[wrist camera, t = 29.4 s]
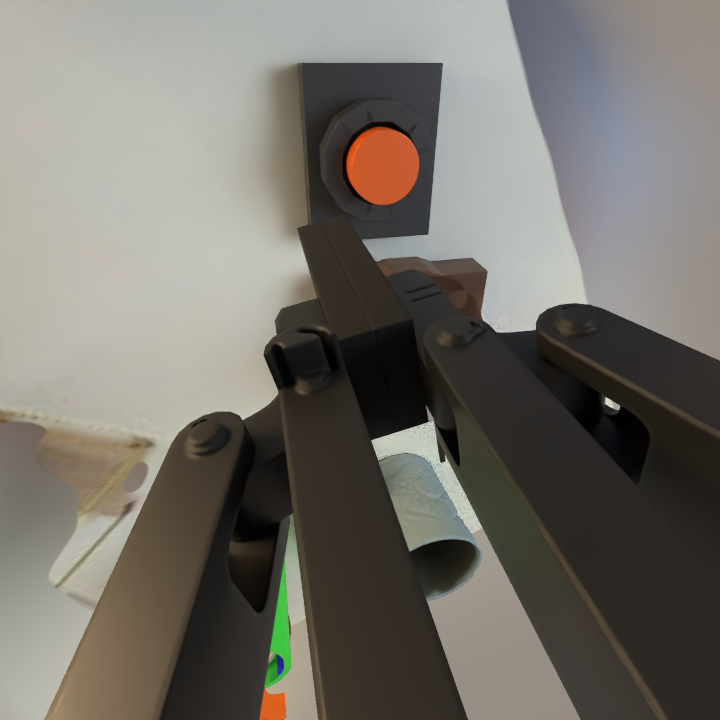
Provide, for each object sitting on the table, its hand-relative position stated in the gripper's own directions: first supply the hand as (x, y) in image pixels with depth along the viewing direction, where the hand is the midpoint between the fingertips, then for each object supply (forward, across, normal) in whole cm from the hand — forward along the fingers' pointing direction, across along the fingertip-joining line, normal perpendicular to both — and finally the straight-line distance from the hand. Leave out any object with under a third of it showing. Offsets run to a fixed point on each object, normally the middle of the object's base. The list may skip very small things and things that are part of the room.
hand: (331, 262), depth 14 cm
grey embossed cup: (+20, +2, -37) cm, 42 cm away
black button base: (+21, +6, -2) cm, 21 cm away
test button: (+17, +6, -2) cm, 18 cm away
